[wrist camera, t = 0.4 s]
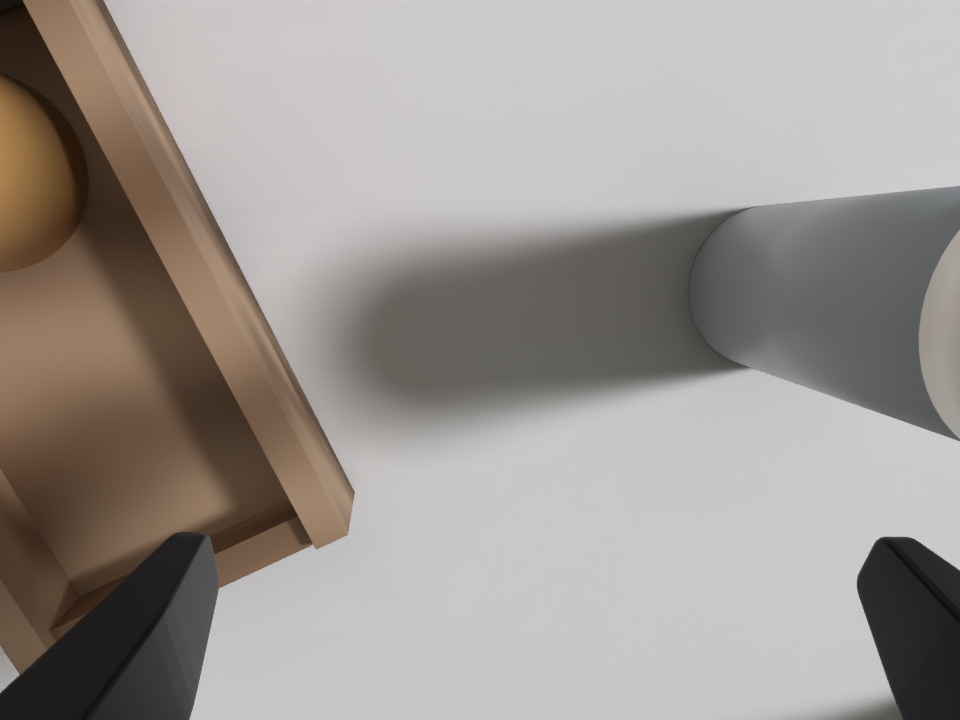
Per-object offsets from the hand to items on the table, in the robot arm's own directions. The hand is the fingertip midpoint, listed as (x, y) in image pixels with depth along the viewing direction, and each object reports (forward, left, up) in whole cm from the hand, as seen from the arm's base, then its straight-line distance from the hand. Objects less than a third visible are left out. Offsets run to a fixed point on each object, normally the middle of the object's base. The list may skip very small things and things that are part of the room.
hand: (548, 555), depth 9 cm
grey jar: (+7, -9, -14) cm, 18 cm away
